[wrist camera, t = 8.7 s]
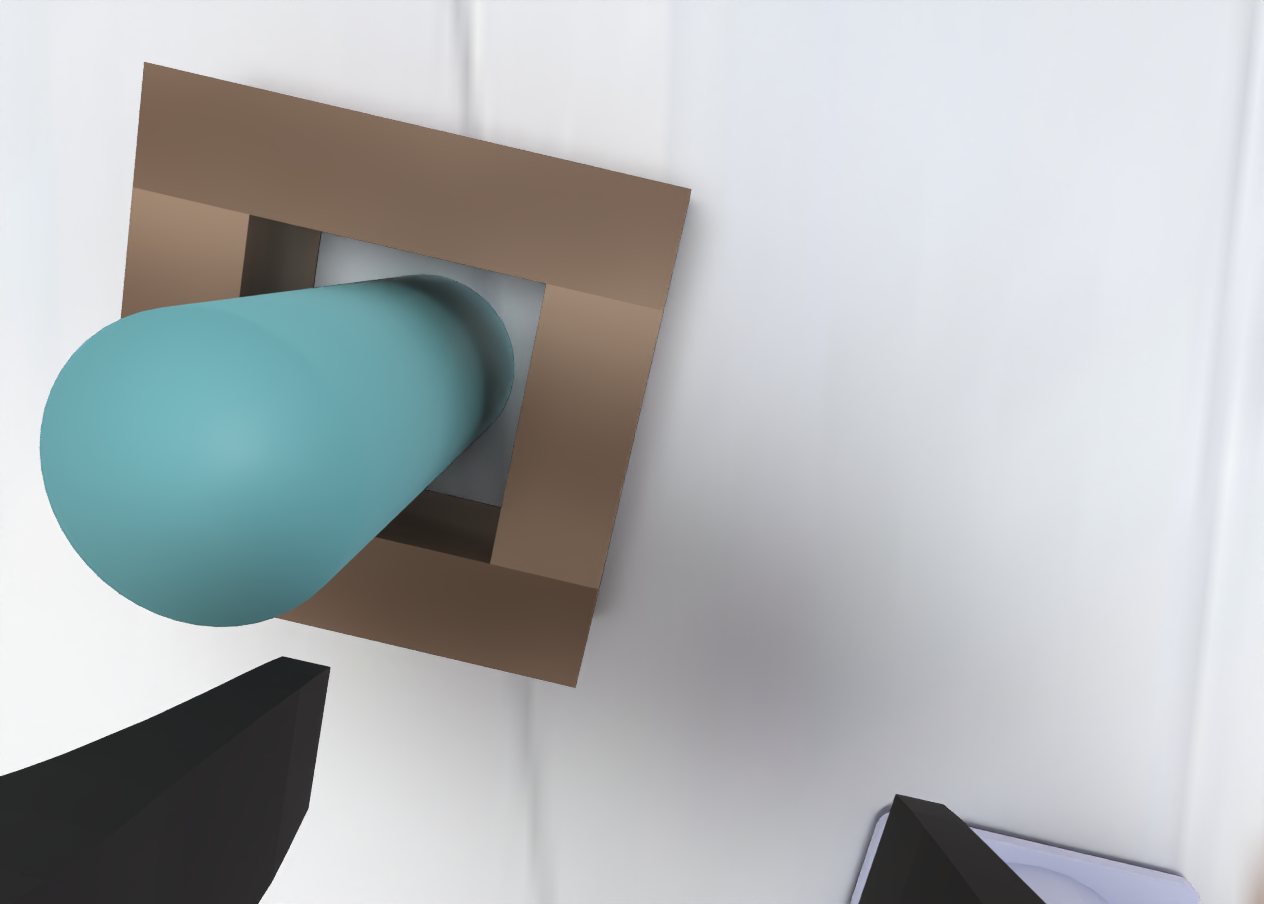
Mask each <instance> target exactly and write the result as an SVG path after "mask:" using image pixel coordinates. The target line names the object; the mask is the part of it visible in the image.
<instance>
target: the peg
mask: <svg viewBox="0 0 1264 904" xmlns="http://www.w3.org/2000/svg"><path fill="white" fill-rule="evenodd" d="M513 377H514V359H513V351H512V347H511V342H510V339H509V337H508V334H507V331H506V329H505V327H504V325H503V323H502V321H501V320H500V318H499V317H498V315H497V314H496V312H495V311H494V310H493V308H492V307H491V306H490V305H489V304H488V303H487V302H486V301H485V300H484V299H483V298H482V297H481V296H480V295H478V294H477V293H476V292H474V291H473V290H471V289H470V288H468V287H467V286H465V285H463V284H461V283H459V282H456V281H454V280H451V279H448V278H444V277H440V276H435V275H409V276H401V277H394V278H386V279H378V280H371V281H363V282H355V283H347V284H340V285H332V286H324V287H316V288H309V289H301V290H293V291H286V292H278V293H270V294H262V295H255V296H247V297H239V298H231V299H224V300H216V301H208V302H201V303H193V304H185V305H177V306H170V307H162V308H157V309H152V310H147V311H142V312H139V313H136V314H133V315H130V316H127V317H125V318H122V319H120V320H118V321H116V322H114V323H112V324H110V325H108V326H106V327H105V328H103V329H101V330H100V331H99V332H97V333H96V334H95V335H93V336H92V337H91V338H89V339H88V340H87V341H86V342H85V343H84V344H83V345H82V346H81V347H80V348H79V349H78V350H77V351H76V352H75V353H74V354H73V355H72V356H71V358H70V359H69V360H68V362H67V363H66V364H65V366H64V367H63V369H62V370H61V371H60V373H59V375H58V377H57V379H56V381H55V383H54V385H53V387H52V389H51V391H50V394H49V397H48V400H47V403H46V406H45V409H44V414H43V420H42V425H41V434H40V459H41V470H42V475H43V480H44V485H45V489H46V493H47V496H48V499H49V502H50V504H51V507H52V510H53V512H54V514H55V517H56V519H57V521H58V523H59V525H60V527H61V529H62V531H63V532H64V534H65V536H66V537H67V539H68V540H69V542H70V543H71V545H72V547H73V548H74V549H75V551H76V552H77V553H78V554H79V556H80V557H81V558H82V559H83V561H84V562H85V563H86V564H87V565H88V566H89V567H90V568H91V569H92V570H93V571H94V572H95V573H96V574H97V575H98V576H99V577H100V578H101V579H102V580H103V581H104V582H105V583H107V584H108V585H109V586H110V587H112V588H113V589H114V590H115V591H117V592H118V593H119V594H121V595H123V596H124V597H126V598H127V599H129V600H131V601H132V602H134V603H135V604H137V605H139V606H141V607H143V608H145V609H147V610H149V611H151V612H154V613H156V614H158V615H161V616H164V617H167V618H170V619H173V620H176V621H180V622H185V623H189V624H194V625H202V626H213V627H229V626H241V625H248V624H254V623H258V622H262V621H265V620H268V619H272V618H275V617H277V616H279V615H282V614H284V613H286V612H288V611H290V610H292V609H294V608H296V607H297V606H299V605H300V604H302V603H303V602H305V601H307V600H308V599H310V598H311V597H312V596H313V595H314V594H315V593H316V592H318V591H319V590H320V589H321V588H322V587H323V586H324V585H326V584H327V583H328V582H329V581H330V580H331V579H332V578H333V577H334V576H335V575H336V574H337V573H338V572H339V571H340V570H341V569H342V568H343V567H344V566H345V565H346V564H347V563H348V562H349V561H350V560H351V559H352V558H354V557H355V556H356V555H357V554H358V553H359V552H360V551H361V550H362V549H363V548H364V547H365V546H366V545H367V544H368V543H369V542H370V541H371V540H372V539H373V538H374V537H375V536H376V535H377V534H378V533H379V532H380V531H382V530H383V529H384V528H385V527H386V526H387V525H388V524H389V523H390V522H391V521H392V520H393V519H394V518H395V517H396V516H397V515H398V514H399V513H400V512H401V511H402V510H403V509H404V508H405V507H406V506H407V505H408V504H410V503H411V502H412V501H413V500H414V499H415V498H416V497H417V496H418V495H419V494H420V493H421V492H422V491H423V490H424V489H425V488H426V487H427V486H428V485H429V484H430V483H431V482H432V481H433V480H434V479H435V478H436V477H438V476H439V475H440V474H441V473H442V472H443V471H444V470H445V469H446V468H447V467H448V466H449V465H450V464H451V463H452V462H453V461H454V460H455V459H456V458H457V457H458V456H459V455H460V454H461V453H462V452H463V451H464V450H466V449H467V448H468V447H469V446H470V445H471V444H472V443H473V442H474V441H475V440H476V439H477V438H478V437H479V436H480V435H481V434H482V433H483V432H484V431H485V430H486V429H487V428H488V427H489V426H490V425H491V424H492V423H493V422H494V421H495V420H496V418H497V417H498V416H499V414H500V413H501V411H502V410H503V408H504V406H505V404H506V402H507V400H508V397H509V394H510V391H511V388H512V382H513Z"/></svg>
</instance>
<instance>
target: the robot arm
mask: <svg viewBox="0 0 1264 904" xmlns="http://www.w3.org/2000/svg"><path fill="white" fill-rule="evenodd" d="M329 673H330V667H328V666H323V665H319V664H314V663H310V662H305V661H301V660H296V659H292V658H288V657H283V656H282V657H280V658H277V659H275V660H272V661H270V662H268V663H265V664H263V665H261V666H259V667H257V668H255V669H253V670H250V671H248V672H246V673H244V674H242V675H240V676H238V677H236V678H234V679H232V680H230V681H228V682H226V683H224V684H221V685H219V686H217V687H215V688H213V689H211V690H209V691H207V692H205V693H203V694H201V695H198V696H196V697H194V698H192V699H190V700H188V701H186V702H184V703H181V704H179V705H177V706H175V707H173V708H171V709H169V710H166V711H164V712H162V713H160V714H158V715H156V716H154V717H151V718H149V719H147V720H145V721H142V722H140V723H137V724H135V725H133V726H130V727H128V728H125V729H123V730H121V731H118V732H116V733H113V734H111V735H108V736H106V737H104V738H101V739H99V740H96V741H94V742H92V743H89V744H87V745H84V746H82V747H80V748H77V749H75V750H72V751H70V752H68V753H65V754H62V755H60V756H57V757H54V758H52V759H49V760H46V761H44V762H41V763H38V764H35V765H32V766H30V767H27V768H24V769H21V770H18V771H15V772H12V773H9V774H6V775H3V776H0V904H258V903H259V902H260V900H261V898H262V897H263V895H264V894H265V892H266V891H267V889H268V887H269V886H270V884H271V883H272V881H273V879H274V877H275V875H276V873H277V871H278V869H279V867H280V865H281V863H282V861H283V859H284V857H285V855H286V853H287V851H288V849H289V847H290V845H291V843H292V841H293V839H294V837H295V835H296V833H297V831H298V829H299V827H300V825H301V823H302V821H303V818H304V816H305V814H306V812H307V810H308V808H309V802H310V795H311V789H312V782H313V776H314V770H315V763H316V757H317V750H318V744H319V737H320V731H321V725H322V718H323V712H324V705H325V699H326V693H327V686H328V680H329ZM1199 903H1200V897H1199V894H1198V892H1197V891H1196V890H1195V888H1194V887H1193V886H1192V884H1191V883H1190V882H1189V881H1188V880H1187V879H1185V878H1183V877H1180V876H1177V875H1172V874H1168V873H1164V872H1159V871H1155V870H1151V869H1147V868H1142V867H1138V866H1134V865H1129V864H1125V863H1121V862H1117V861H1112V860H1108V859H1104V858H1100V857H1095V856H1091V855H1087V854H1082V853H1078V852H1074V851H1070V850H1065V849H1061V848H1057V847H1053V846H1048V845H1044V844H1040V843H1035V842H1031V841H1027V840H1023V839H1018V838H1014V837H1010V836H1006V835H1001V834H997V833H993V832H988V831H984V830H980V829H976V828H971V827H968V826H967V825H966V824H965V823H964V822H963V821H962V820H961V819H960V818H959V817H958V816H956V815H955V814H954V813H953V812H952V811H951V810H949V809H948V808H947V807H946V806H945V805H943V804H939V803H934V802H930V801H925V800H921V799H916V798H912V797H907V796H903V795H898V794H896V795H895V798H894V801H893V804H892V807H891V810H890V812H888V813H886V814H885V815H883V816H882V817H881V818H880V819H879V821H878V822H877V824H876V827H875V830H874V833H873V836H872V839H871V842H870V845H869V848H868V851H867V854H866V857H865V860H864V863H863V866H862V869H861V872H860V875H859V878H858V881H857V884H856V887H855V890H854V893H853V896H852V899H851V902H850V904H1199Z"/></svg>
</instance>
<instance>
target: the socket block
mask: <svg viewBox="0 0 1264 904" xmlns="http://www.w3.org/2000/svg"><path fill="white" fill-rule="evenodd" d="M690 194H691V189H688V188H684V187H679V186H675V185H671V184H666V183H662V182H658V181H654V180H649V179H645V178H641V177H636V176H632V175H628V174H624V173H619V172H615V171H611V170H606V169H602V168H598V167H593V166H589V165H585V164H581V163H576V162H572V161H568V160H563V159H559V158H555V157H551V156H546V155H542V154H538V153H533V152H529V151H525V150H520V149H516V148H512V147H508V146H503V145H499V144H495V143H490V142H486V141H482V140H477V139H473V138H469V137H465V136H460V135H456V134H452V133H447V132H443V131H439V130H435V129H430V128H426V127H422V126H417V125H413V124H409V123H404V122H400V121H396V120H392V119H387V118H383V117H379V116H374V115H370V114H366V113H362V112H357V111H353V110H349V109H344V108H340V107H336V106H331V105H327V104H323V103H319V102H314V101H310V100H306V99H301V98H297V97H293V96H289V95H284V94H280V93H276V92H271V91H267V90H263V89H258V88H254V87H250V86H246V85H241V84H237V83H233V82H228V81H224V80H220V79H216V78H211V77H207V76H203V75H198V74H194V73H190V72H185V71H181V70H177V69H173V68H168V67H164V66H160V65H155V64H151V63H147V62H144V70H143V81H142V92H141V103H140V114H139V125H138V136H137V147H136V158H135V169H134V180H133V191H132V202H131V213H130V224H129V235H128V246H127V257H126V268H125V279H124V290H123V301H122V312H121V319H122V318H125V317H127V316H130V315H133V314H136V313H139V312H142V311H147V310H152V309H157V308H162V307H170V306H177V305H185V304H193V303H201V302H208V301H216V300H224V299H231V298H239V297H247V296H255V295H262V294H270V293H278V292H286V291H293V290H301V289H309V288H313V286H314V279H315V271H316V264H317V257H318V250H319V243H320V236H321V231H322V232H327V233H331V234H335V235H339V236H344V237H348V238H352V239H357V240H361V241H365V242H370V243H374V244H378V245H382V246H387V247H391V248H395V249H400V250H404V251H408V252H412V253H417V254H421V255H425V256H430V257H434V258H438V259H442V260H447V261H451V262H455V263H460V264H464V265H468V266H472V267H477V268H481V269H485V270H490V271H494V272H498V273H502V274H507V275H511V276H515V277H520V278H524V279H528V280H533V281H537V282H541V283H545V284H546V288H545V293H544V298H543V303H542V307H541V312H540V317H539V322H538V327H537V332H536V337H535V342H534V347H533V352H532V357H531V362H530V367H529V372H528V377H527V382H526V387H525V392H524V397H523V402H522V407H521V412H520V417H519V422H518V427H517V432H516V437H515V442H514V447H513V452H512V457H511V462H510V467H509V472H508V477H507V482H506V487H505V492H504V497H503V502H502V507H501V508H500V507H496V506H491V505H487V504H483V503H479V502H474V501H470V500H466V499H462V498H457V497H453V496H449V495H444V494H440V493H436V492H432V491H427V490H423V491H422V492H421V493H420V494H419V495H418V496H417V497H416V498H415V499H414V500H413V501H412V502H411V503H410V504H408V505H407V506H406V507H405V508H404V509H403V510H402V511H401V512H400V513H399V514H398V515H397V516H396V517H395V518H394V519H393V520H392V521H391V522H390V523H389V524H388V525H387V526H386V527H385V528H384V529H383V530H382V531H380V532H379V533H378V534H377V535H376V536H375V537H374V538H373V539H372V540H371V541H370V542H369V543H368V544H367V545H366V546H365V547H364V548H363V549H362V550H361V551H360V552H359V553H358V554H357V555H356V556H355V557H354V558H352V559H351V560H350V561H349V562H348V563H347V564H346V565H345V566H344V567H343V568H342V569H341V570H340V571H339V572H338V573H337V574H336V575H335V576H334V577H333V578H332V579H331V580H330V581H329V582H328V583H327V584H326V585H324V586H323V587H322V588H321V589H320V590H319V591H318V592H316V593H315V594H314V595H313V596H312V597H311V598H310V599H308V600H307V601H305V602H303V603H302V604H300V605H299V606H297V607H296V608H294V609H292V610H290V611H288V612H286V613H284V614H282V615H279V616H277V617H275V618H279V619H284V620H288V621H292V622H296V623H301V624H305V625H309V626H314V627H318V628H322V629H326V630H331V631H335V632H339V633H344V634H348V635H352V636H356V637H361V638H365V639H369V640H373V641H378V642H382V643H386V644H391V645H395V646H399V647H403V648H408V649H412V650H416V651H420V652H425V653H429V654H433V655H438V656H442V657H446V658H450V659H455V660H459V661H463V662H467V663H472V664H476V665H480V666H485V667H489V668H493V669H497V670H502V671H506V672H510V673H515V674H519V675H523V676H527V677H532V678H536V679H540V680H544V681H549V682H553V683H557V684H562V685H566V686H570V687H574V688H575V687H576V683H577V679H578V675H579V671H580V667H581V662H582V658H583V654H584V650H585V646H586V642H587V637H588V633H589V629H590V625H591V621H592V617H593V612H594V608H595V604H596V599H597V595H598V591H599V587H600V582H601V578H602V574H603V569H604V565H605V561H606V556H607V552H608V548H609V544H610V539H611V535H612V531H613V526H614V522H615V518H616V513H617V509H618V505H619V501H620V496H621V492H622V488H623V483H624V479H625V475H626V470H627V466H628V462H629V458H630V453H631V449H632V445H633V440H634V436H635V432H636V427H637V423H638V419H639V415H640V410H641V406H642V402H643V397H644V393H645V389H646V385H647V380H648V376H649V372H650V367H651V363H652V359H653V354H654V350H655V346H656V342H657V337H658V333H659V329H660V324H661V320H662V316H663V311H664V307H665V303H666V299H667V294H668V290H669V286H670V281H671V277H672V273H673V268H674V264H675V260H676V256H677V251H678V247H679V243H680V238H681V234H682V230H683V225H684V221H685V217H686V213H687V208H688V204H689V200H690ZM97 576H98V575H97Z"/></svg>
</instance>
